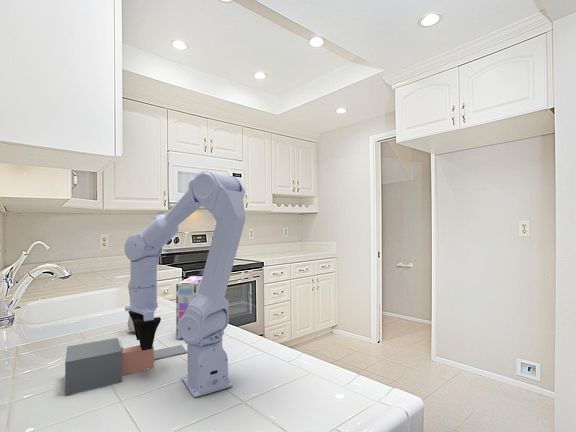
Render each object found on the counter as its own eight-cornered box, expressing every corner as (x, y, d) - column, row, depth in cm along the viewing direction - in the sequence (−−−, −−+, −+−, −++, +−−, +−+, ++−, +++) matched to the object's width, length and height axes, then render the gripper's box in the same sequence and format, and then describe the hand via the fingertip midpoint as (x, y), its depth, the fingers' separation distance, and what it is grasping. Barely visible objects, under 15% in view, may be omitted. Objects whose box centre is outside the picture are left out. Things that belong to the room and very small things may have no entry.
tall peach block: (153, 368, 77) (153, 346, 77) (100, 381, 71) (100, 358, 71) (150, 363, 80) (150, 342, 80) (98, 376, 73) (98, 353, 73)
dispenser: (124, 381, 70) (123, 350, 71) (65, 395, 65) (65, 362, 65) (119, 364, 79) (119, 337, 79) (67, 375, 73) (67, 346, 74)
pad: (187, 352, 85) (187, 351, 85) (127, 366, 78) (127, 364, 78) (181, 345, 91) (181, 344, 91) (125, 357, 83) (125, 356, 83)
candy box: (195, 339, 95) (195, 282, 96) (175, 340, 95) (175, 282, 96) (208, 325, 109) (207, 275, 109) (190, 325, 109) (190, 275, 110)
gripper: (121, 283, 82) (121, 338, 81) (128, 293, 69) (128, 358, 69) (152, 280, 85) (152, 333, 85) (163, 289, 73) (164, 351, 73)
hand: (143, 344), depth 77 cm, fingers open, 7 cm apart
